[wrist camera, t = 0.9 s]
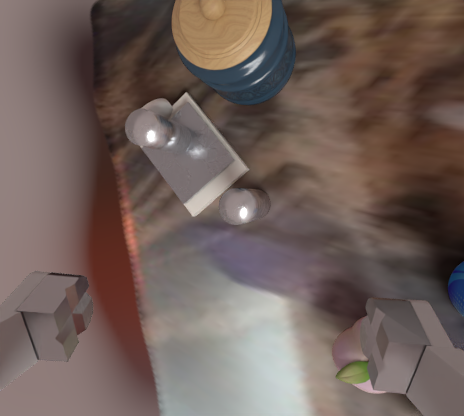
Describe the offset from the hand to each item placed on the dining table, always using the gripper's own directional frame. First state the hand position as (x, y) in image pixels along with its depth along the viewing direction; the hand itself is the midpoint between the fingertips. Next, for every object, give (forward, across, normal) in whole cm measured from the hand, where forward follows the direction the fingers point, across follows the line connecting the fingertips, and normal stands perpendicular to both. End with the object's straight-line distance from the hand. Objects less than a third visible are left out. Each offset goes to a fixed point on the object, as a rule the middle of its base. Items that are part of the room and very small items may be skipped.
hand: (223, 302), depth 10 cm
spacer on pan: (+42, +11, +9) cm, 45 cm away
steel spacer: (+39, -1, +17) cm, 42 cm away
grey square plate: (+43, +10, +12) cm, 45 cm away
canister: (+48, +1, -1) cm, 48 cm away
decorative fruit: (+28, -17, +31) cm, 45 cm away
